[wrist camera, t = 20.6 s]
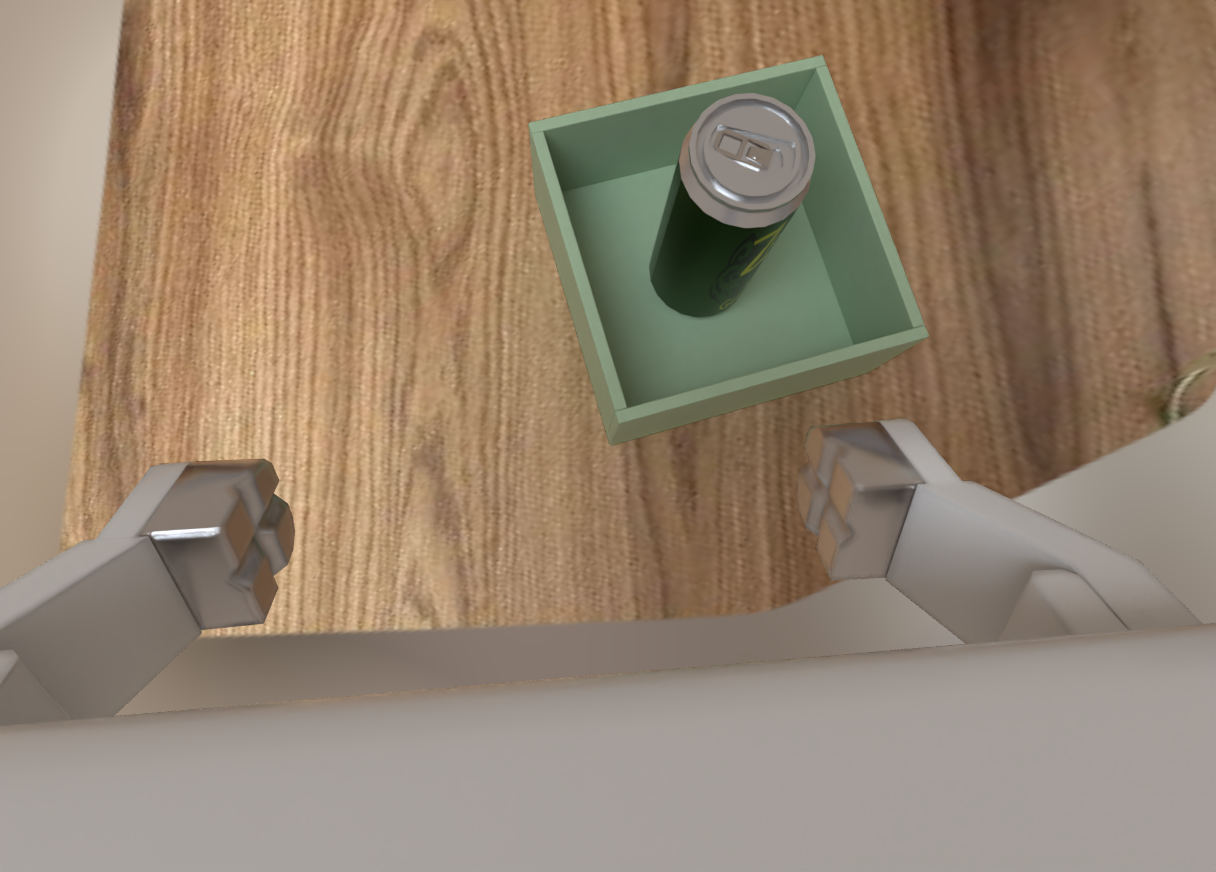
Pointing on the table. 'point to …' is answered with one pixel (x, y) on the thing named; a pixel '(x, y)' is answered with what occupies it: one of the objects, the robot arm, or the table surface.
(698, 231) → the beer can
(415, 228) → the table surface
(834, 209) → the green open box
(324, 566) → the table surface
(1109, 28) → the table surface
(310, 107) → the table surface
